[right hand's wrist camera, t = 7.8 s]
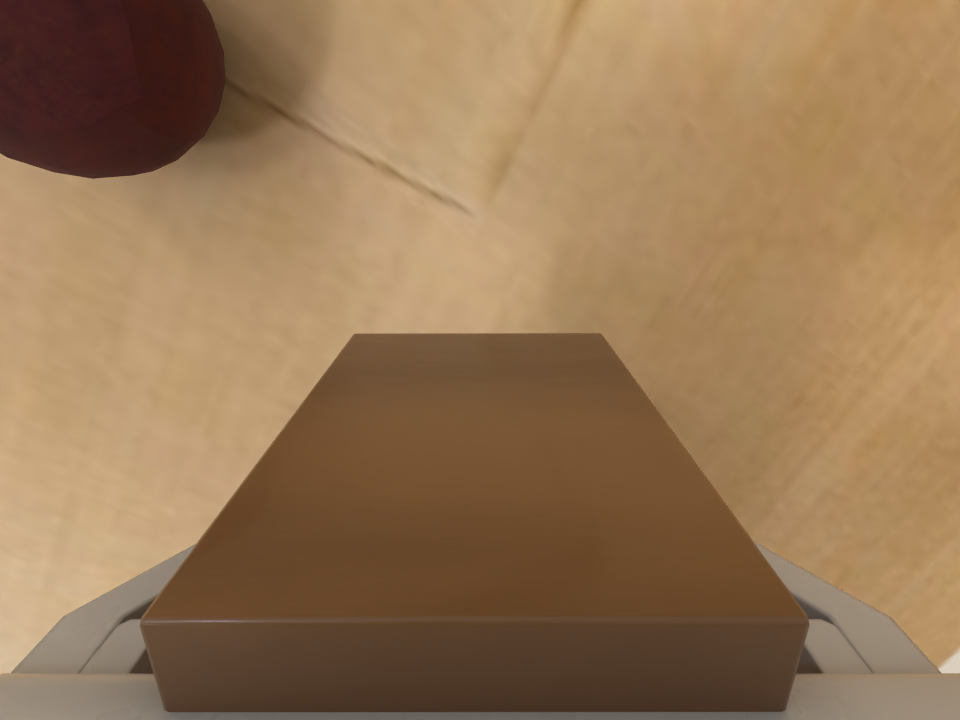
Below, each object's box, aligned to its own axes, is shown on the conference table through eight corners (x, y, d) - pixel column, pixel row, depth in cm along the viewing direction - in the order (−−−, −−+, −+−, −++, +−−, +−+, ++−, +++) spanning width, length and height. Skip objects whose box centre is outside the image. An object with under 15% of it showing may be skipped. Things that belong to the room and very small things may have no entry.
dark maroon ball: (274, 173, 19) (168, 177, 13) (66, 178, 20) (-145, 184, 13) (238, -69, 17) (84, -219, 10) (0, -62, 17) (-305, -208, 10)
